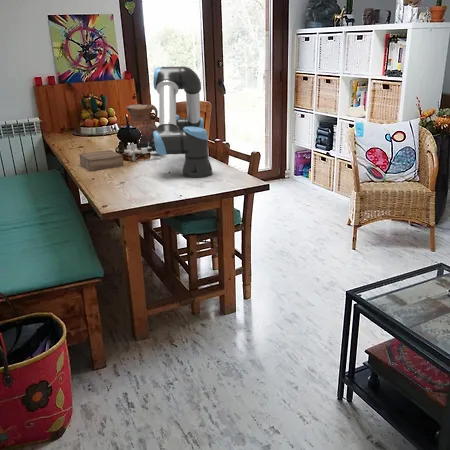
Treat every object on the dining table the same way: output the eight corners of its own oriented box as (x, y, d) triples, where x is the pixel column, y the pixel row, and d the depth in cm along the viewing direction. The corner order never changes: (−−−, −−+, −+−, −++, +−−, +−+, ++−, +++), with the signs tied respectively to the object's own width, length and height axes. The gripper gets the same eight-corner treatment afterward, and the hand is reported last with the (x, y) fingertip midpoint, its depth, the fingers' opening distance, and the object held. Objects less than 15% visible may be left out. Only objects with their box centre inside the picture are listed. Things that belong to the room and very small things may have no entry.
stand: (123, 166, 254) (122, 155, 252) (91, 171, 245) (89, 160, 243) (111, 160, 268) (110, 149, 266) (80, 164, 259) (79, 154, 257)
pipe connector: (139, 162, 260) (137, 145, 257) (122, 162, 262) (120, 144, 259) (145, 158, 270) (143, 141, 266) (129, 158, 271) (127, 141, 268)
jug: (135, 148, 297) (131, 108, 288) (120, 143, 312) (116, 105, 303) (165, 143, 310) (162, 105, 301) (148, 139, 325) (145, 102, 316)
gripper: (177, 152, 274) (149, 159, 259) (149, 147, 289) (122, 153, 274) (176, 139, 271) (148, 145, 256) (148, 135, 286) (120, 140, 272)
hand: (134, 149), depth 265 cm, fingers open, 13 cm apart
